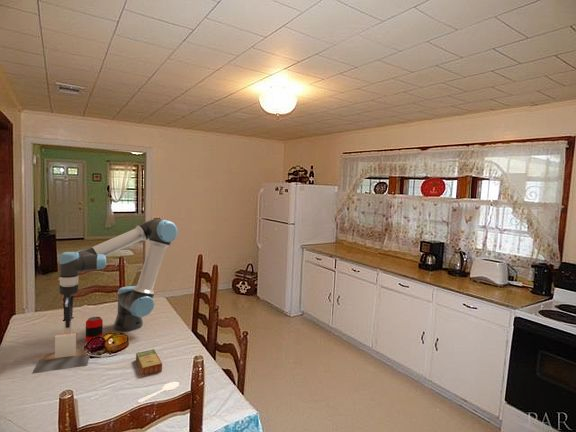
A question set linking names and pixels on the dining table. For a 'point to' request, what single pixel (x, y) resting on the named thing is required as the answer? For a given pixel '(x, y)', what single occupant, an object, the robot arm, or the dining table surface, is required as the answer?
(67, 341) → the tile
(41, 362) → the board
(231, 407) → the dining table surface
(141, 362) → the carton
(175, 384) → the spoon
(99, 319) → the soda can
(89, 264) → the robot arm
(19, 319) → the dining table surface
